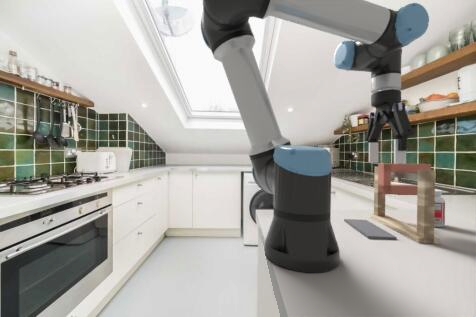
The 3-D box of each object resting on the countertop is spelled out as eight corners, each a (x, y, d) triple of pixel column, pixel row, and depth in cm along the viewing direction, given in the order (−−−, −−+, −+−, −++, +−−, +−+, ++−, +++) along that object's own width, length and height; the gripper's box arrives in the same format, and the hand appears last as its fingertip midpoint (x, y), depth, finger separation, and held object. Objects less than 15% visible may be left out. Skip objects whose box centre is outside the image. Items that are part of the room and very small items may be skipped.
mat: (368, 238, 57) (368, 236, 57) (344, 220, 73) (344, 219, 73) (396, 239, 57) (396, 237, 57) (366, 221, 73) (366, 219, 73)
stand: (418, 242, 55) (419, 170, 55) (370, 217, 78) (370, 166, 78) (439, 243, 54) (440, 170, 54) (384, 217, 78) (385, 166, 78)
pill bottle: (428, 221, 74) (429, 188, 74) (450, 227, 68) (450, 191, 68) (414, 222, 73) (414, 188, 73) (434, 228, 67) (434, 191, 67)
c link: (383, 194, 65) (383, 163, 65) (377, 192, 68) (378, 163, 68) (430, 195, 64) (431, 164, 64) (422, 193, 67) (423, 163, 67)
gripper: (431, 76, 54) (431, 164, 54) (376, 102, 79) (376, 161, 79) (399, 77, 54) (398, 164, 55) (354, 102, 79) (354, 161, 79)
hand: (385, 162), depth 67 cm, fingers open, 13 cm apart
